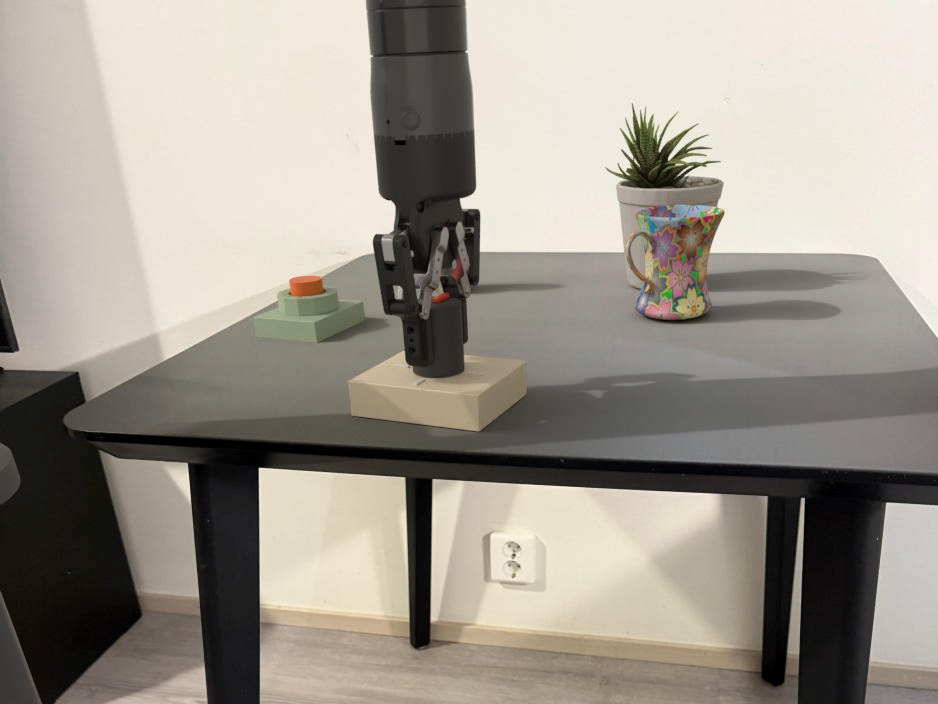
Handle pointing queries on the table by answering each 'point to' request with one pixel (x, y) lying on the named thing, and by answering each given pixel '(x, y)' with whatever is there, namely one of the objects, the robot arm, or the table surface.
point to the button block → (309, 316)
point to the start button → (306, 286)
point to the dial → (445, 338)
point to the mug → (674, 259)
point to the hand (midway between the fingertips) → (437, 353)
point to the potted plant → (658, 182)
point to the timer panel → (439, 393)
